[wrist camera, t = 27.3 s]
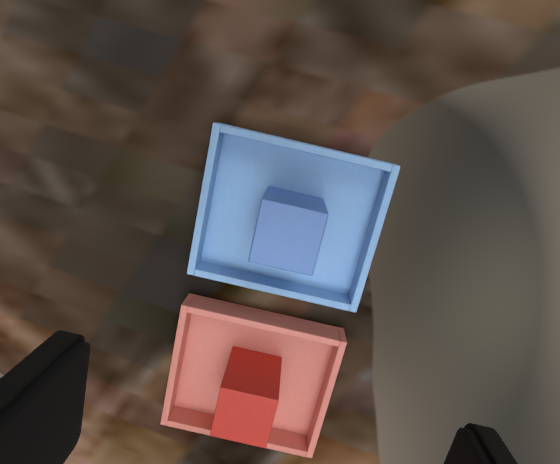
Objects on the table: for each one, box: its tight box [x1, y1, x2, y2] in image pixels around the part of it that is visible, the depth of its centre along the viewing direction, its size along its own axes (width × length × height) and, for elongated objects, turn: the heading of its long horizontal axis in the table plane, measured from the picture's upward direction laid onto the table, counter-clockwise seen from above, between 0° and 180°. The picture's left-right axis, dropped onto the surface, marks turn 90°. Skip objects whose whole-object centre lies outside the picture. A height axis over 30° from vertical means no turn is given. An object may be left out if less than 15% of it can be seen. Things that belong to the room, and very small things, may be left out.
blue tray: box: [187, 122, 400, 313], centre depth 32 cm, size 14×12×2 cm
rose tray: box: [161, 293, 347, 458], centre depth 36 cm, size 14×12×2 cm
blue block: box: [248, 186, 329, 276], centre depth 30 cm, size 5×5×6 cm
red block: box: [210, 346, 282, 448], centre depth 34 cm, size 5×5×6 cm
